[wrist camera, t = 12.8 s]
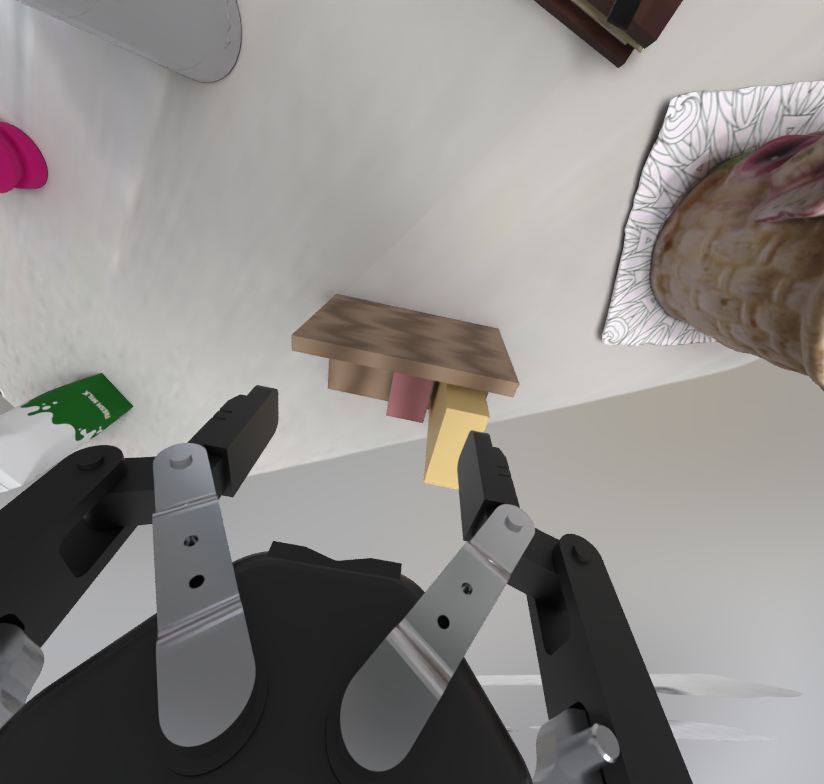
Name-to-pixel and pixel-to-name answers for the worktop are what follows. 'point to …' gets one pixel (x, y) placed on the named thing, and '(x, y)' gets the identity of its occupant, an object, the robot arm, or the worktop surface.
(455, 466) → the ochre book
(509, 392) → the shelf
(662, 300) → the cookie jar
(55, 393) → the milk carton
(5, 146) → the pepper mill
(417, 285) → the worktop surface
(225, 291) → the worktop surface
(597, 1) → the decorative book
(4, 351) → the worktop surface
